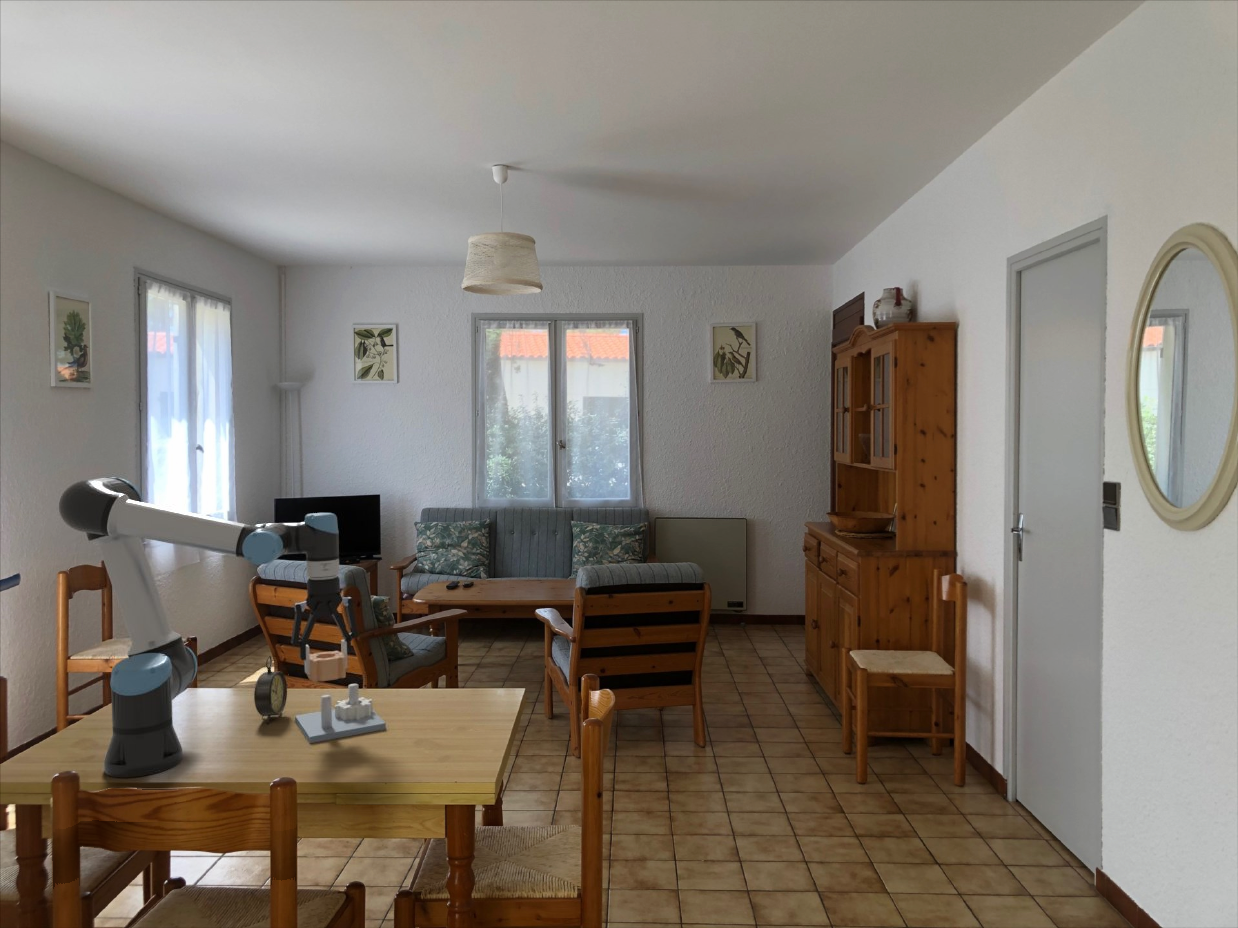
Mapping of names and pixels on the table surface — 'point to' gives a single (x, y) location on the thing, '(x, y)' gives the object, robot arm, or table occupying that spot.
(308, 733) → the gear board
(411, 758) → the table surface
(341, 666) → the loose gear
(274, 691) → the alarm clock
